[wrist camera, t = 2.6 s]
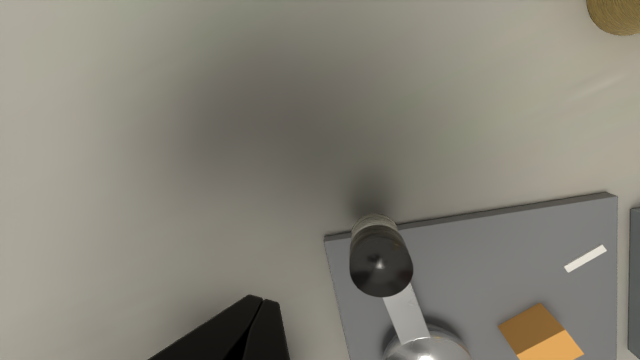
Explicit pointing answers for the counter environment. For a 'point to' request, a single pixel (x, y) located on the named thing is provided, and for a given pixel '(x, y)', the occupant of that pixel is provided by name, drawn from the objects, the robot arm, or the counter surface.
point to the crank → (397, 292)
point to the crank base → (501, 282)
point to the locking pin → (616, 15)
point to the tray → (634, 284)
